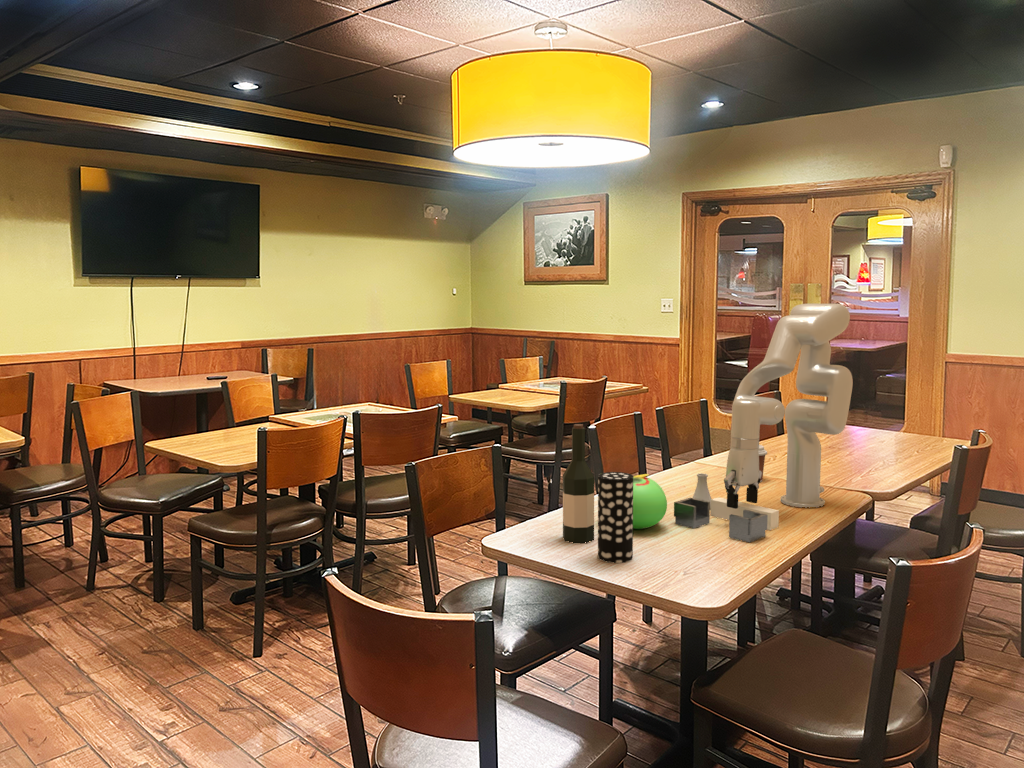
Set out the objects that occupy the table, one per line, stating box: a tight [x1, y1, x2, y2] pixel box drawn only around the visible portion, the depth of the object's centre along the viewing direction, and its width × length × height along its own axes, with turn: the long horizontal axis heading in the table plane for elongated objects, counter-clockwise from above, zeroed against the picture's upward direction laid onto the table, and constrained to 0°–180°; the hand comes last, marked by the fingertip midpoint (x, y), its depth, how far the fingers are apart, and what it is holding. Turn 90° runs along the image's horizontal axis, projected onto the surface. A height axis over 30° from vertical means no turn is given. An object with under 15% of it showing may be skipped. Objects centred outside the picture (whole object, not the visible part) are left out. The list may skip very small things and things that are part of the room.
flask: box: [692, 473, 712, 510], centre depth 230 cm, size 7×7×10 cm
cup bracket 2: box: [728, 510, 768, 543], centre depth 201 cm, size 8×6×6 cm
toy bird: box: [633, 473, 668, 530], centre depth 211 cm, size 18×17×15 cm
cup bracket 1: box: [673, 497, 711, 529], centre depth 214 cm, size 8×6×6 cm
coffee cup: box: [758, 444, 768, 483], centre depth 263 cm, size 9×9×12 cm
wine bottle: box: [562, 423, 595, 544], centre depth 199 cm, size 8×8×30 cm
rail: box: [710, 497, 780, 531], centre depth 215 cm, size 4×19×5 cm, turn 41°
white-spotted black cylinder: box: [597, 471, 634, 564], centre depth 185 cm, size 8×8×20 cm
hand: (742, 504), depth 214 cm, fingers open, 9 cm apart
